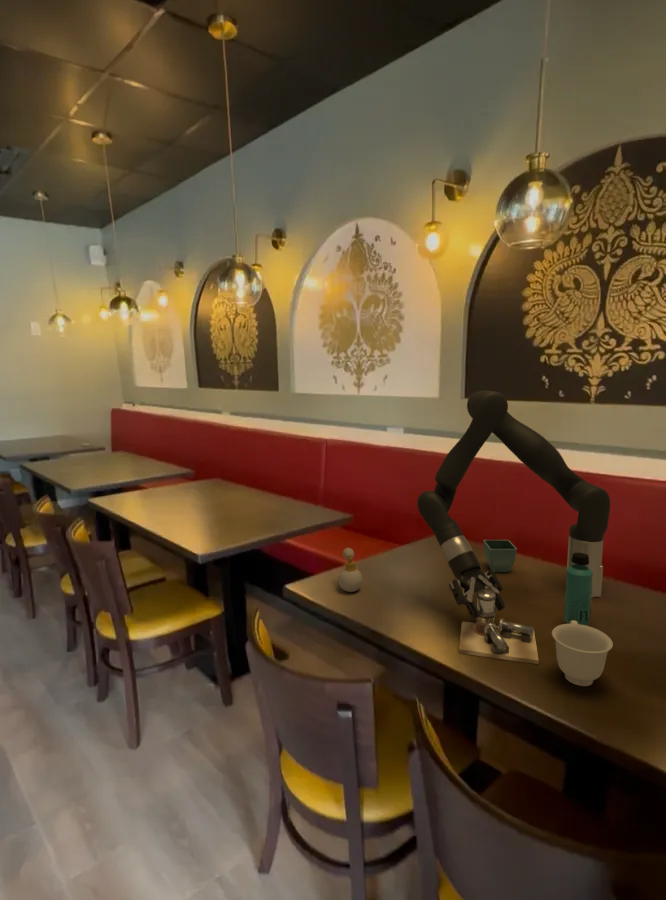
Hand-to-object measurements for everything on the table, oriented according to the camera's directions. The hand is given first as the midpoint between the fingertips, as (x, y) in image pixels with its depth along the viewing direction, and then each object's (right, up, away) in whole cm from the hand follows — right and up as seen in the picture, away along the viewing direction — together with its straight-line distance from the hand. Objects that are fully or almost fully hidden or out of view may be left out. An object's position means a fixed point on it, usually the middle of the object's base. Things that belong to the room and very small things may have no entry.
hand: (489, 613), depth 133 cm
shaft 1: (0, -6, -5) cm, 8 cm away
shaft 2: (+6, -5, -1) cm, 8 cm away
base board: (+1, -7, -2) cm, 7 cm away
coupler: (-1, -5, +2) cm, 5 cm away
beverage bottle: (+24, -5, +5) cm, 25 cm away
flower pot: (+16, +1, +43) cm, 45 cm away
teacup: (+15, -9, -16) cm, 23 cm away
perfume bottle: (-35, -2, +30) cm, 46 cm away
